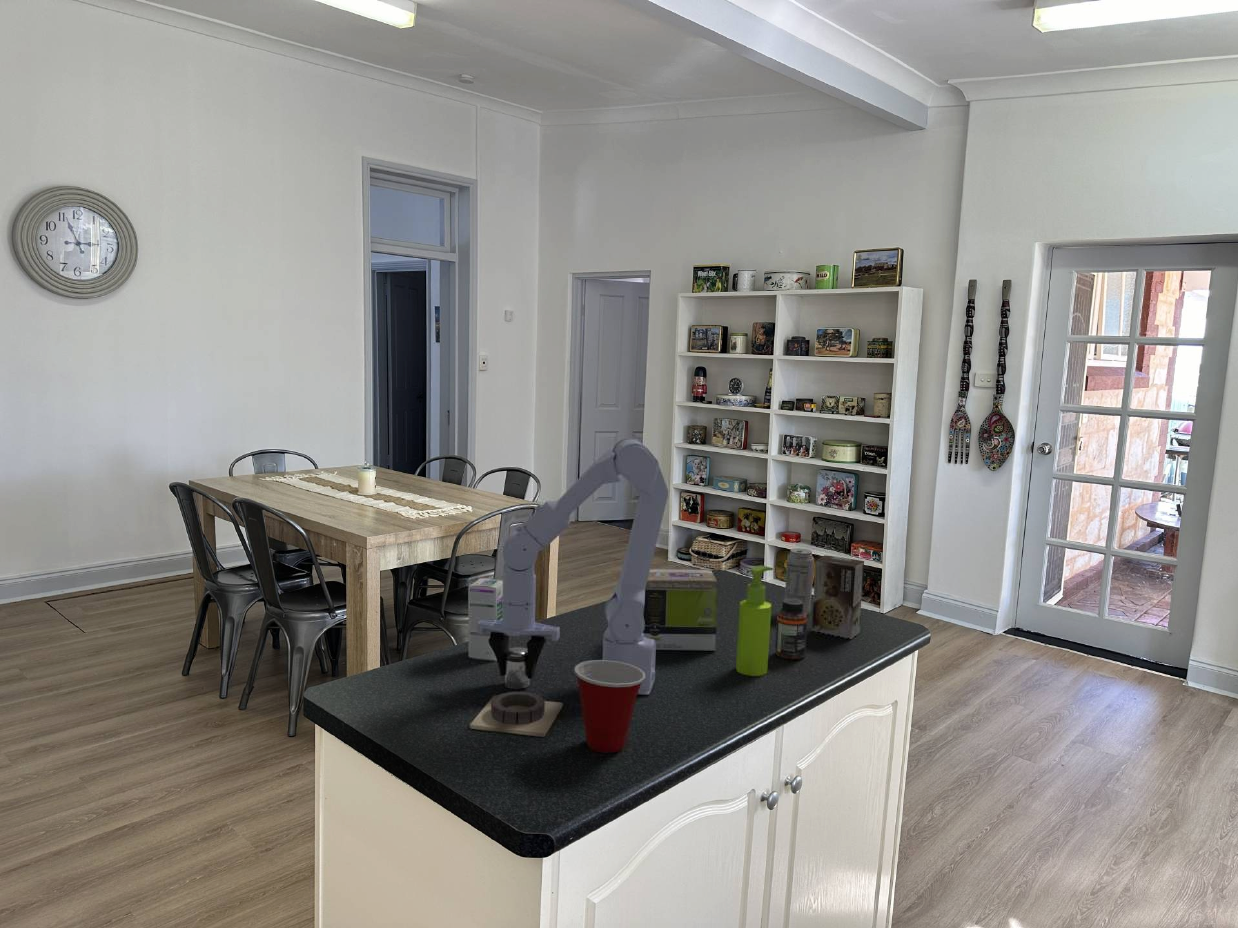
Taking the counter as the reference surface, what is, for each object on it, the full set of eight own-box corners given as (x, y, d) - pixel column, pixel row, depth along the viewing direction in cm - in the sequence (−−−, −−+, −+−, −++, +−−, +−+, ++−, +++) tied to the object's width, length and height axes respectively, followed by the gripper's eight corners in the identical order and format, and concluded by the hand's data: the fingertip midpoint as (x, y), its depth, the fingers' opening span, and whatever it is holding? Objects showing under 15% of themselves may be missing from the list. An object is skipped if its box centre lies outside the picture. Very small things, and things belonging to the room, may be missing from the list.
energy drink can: (814, 614, 205) (819, 551, 203) (801, 619, 200) (806, 555, 198) (792, 608, 209) (796, 546, 207) (778, 613, 204) (782, 550, 202)
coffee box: (860, 632, 193) (865, 560, 191) (851, 640, 187) (856, 566, 185) (820, 624, 198) (825, 553, 195) (810, 631, 192) (814, 559, 190)
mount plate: (562, 706, 148) (562, 691, 148) (543, 736, 136) (544, 720, 136) (493, 698, 150) (494, 684, 150) (469, 728, 138) (470, 712, 138)
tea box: (709, 636, 187) (712, 568, 185) (715, 652, 177) (719, 581, 175) (638, 634, 186) (641, 566, 184) (641, 650, 176) (644, 579, 174)
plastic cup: (656, 750, 133) (660, 674, 131) (595, 767, 127) (598, 687, 125) (617, 723, 142) (620, 652, 140) (559, 737, 136) (561, 663, 134)
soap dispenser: (776, 669, 169) (782, 567, 166) (755, 678, 164) (761, 573, 161) (750, 661, 172) (756, 561, 170) (729, 669, 167) (735, 567, 165)
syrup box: (496, 661, 167) (497, 587, 166) (466, 658, 169) (468, 584, 167) (506, 651, 173) (507, 579, 171) (477, 648, 174) (478, 576, 172)
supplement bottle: (782, 648, 181) (785, 594, 179) (809, 654, 177) (813, 600, 176) (769, 656, 176) (773, 601, 174) (797, 663, 172) (801, 607, 171)
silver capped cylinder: (533, 680, 158) (533, 648, 157) (526, 690, 154) (526, 657, 153) (508, 678, 159) (509, 646, 158) (501, 687, 155) (501, 654, 154)
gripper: (471, 603, 152) (470, 679, 153) (553, 611, 149) (551, 687, 151) (484, 592, 159) (483, 665, 160) (563, 599, 156) (561, 672, 158)
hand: (517, 675), depth 156 cm, fingers closed on silver capped cylinder, 4 cm apart
